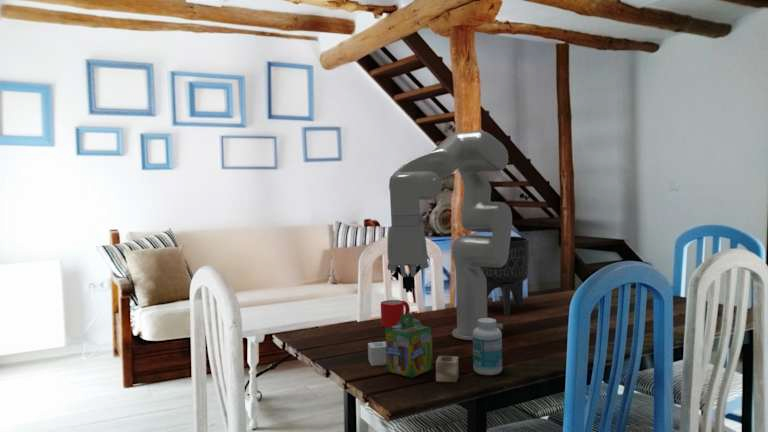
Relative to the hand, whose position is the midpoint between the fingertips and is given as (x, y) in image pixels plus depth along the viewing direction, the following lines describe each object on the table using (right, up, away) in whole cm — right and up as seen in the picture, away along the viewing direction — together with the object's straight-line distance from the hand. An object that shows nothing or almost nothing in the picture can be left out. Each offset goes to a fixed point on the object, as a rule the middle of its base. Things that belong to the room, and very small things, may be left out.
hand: (408, 291), depth 156 cm
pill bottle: (+20, -21, -1) cm, 29 cm away
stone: (+1, -20, +21) cm, 29 cm away
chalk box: (0, -21, +1) cm, 21 cm away
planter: (+38, -15, +65) cm, 76 cm away
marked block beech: (+9, -21, -6) cm, 24 cm away
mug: (-2, -18, +50) cm, 53 cm away
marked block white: (-8, -21, +9) cm, 24 cm away
